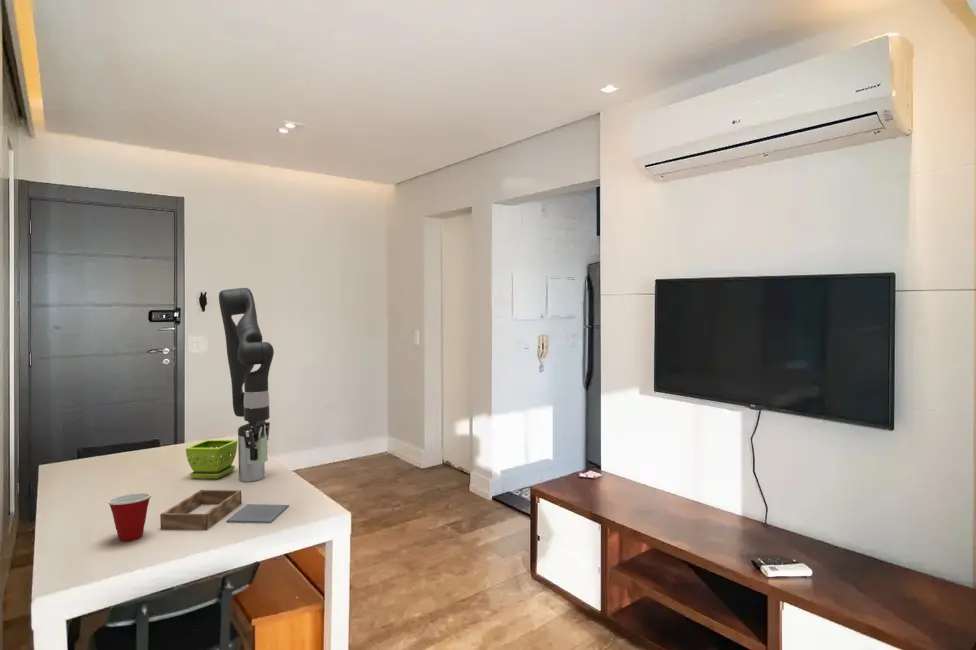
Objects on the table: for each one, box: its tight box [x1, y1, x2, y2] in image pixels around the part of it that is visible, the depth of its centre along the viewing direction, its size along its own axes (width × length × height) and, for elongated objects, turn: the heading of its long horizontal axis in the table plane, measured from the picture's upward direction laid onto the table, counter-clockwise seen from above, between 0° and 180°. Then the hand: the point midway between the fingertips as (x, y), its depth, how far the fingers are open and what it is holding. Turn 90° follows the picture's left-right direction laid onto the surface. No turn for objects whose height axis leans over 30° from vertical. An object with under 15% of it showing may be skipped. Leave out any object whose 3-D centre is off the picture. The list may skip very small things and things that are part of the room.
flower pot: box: [185, 439, 238, 480], centre depth 222 cm, size 14×14×13 cm
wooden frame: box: [159, 489, 242, 531], centre depth 180 cm, size 22×14×4 cm, turn 178°
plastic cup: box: [106, 492, 152, 542], centre depth 164 cm, size 11×11×12 cm
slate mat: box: [225, 503, 290, 524], centre depth 182 cm, size 14×14×1 cm
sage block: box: [247, 436, 268, 464], centre depth 181 cm, size 4×4×8 cm
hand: (257, 457), depth 181 cm, fingers closed on sage block, 4 cm apart
